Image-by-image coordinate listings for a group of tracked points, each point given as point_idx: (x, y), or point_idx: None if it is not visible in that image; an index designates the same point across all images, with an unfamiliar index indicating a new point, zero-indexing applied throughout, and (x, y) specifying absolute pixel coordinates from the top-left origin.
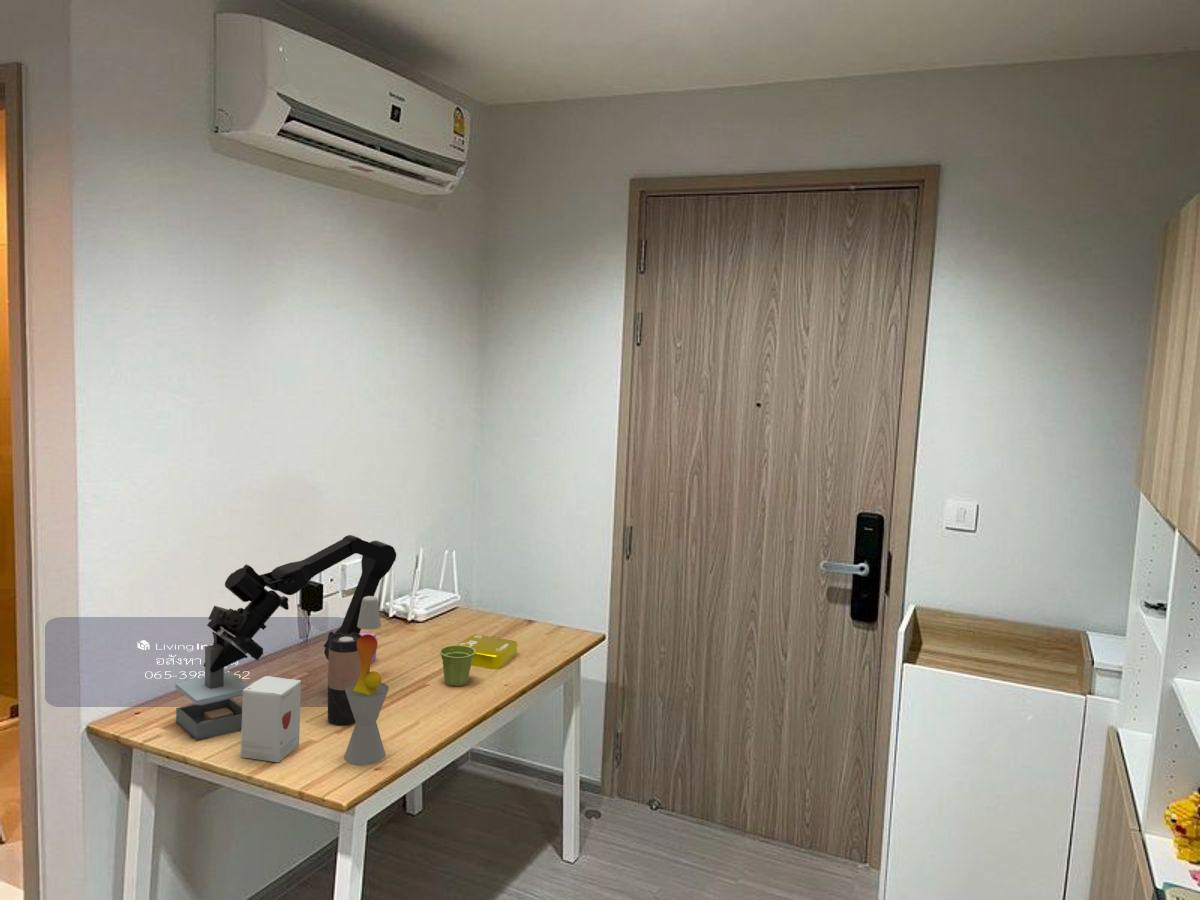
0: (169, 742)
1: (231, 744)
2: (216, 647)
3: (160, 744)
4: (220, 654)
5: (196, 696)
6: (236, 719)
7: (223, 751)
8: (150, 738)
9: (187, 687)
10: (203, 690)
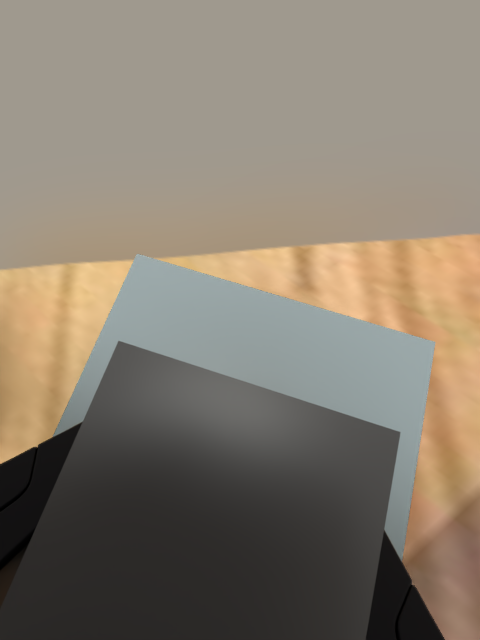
0: (240, 275)
1: (68, 368)
2: (131, 545)
3: (249, 254)
4: (44, 495)
5: (179, 285)
6: None
7: (56, 322)
8: (307, 263)
9: (326, 339)
10: (216, 360)
